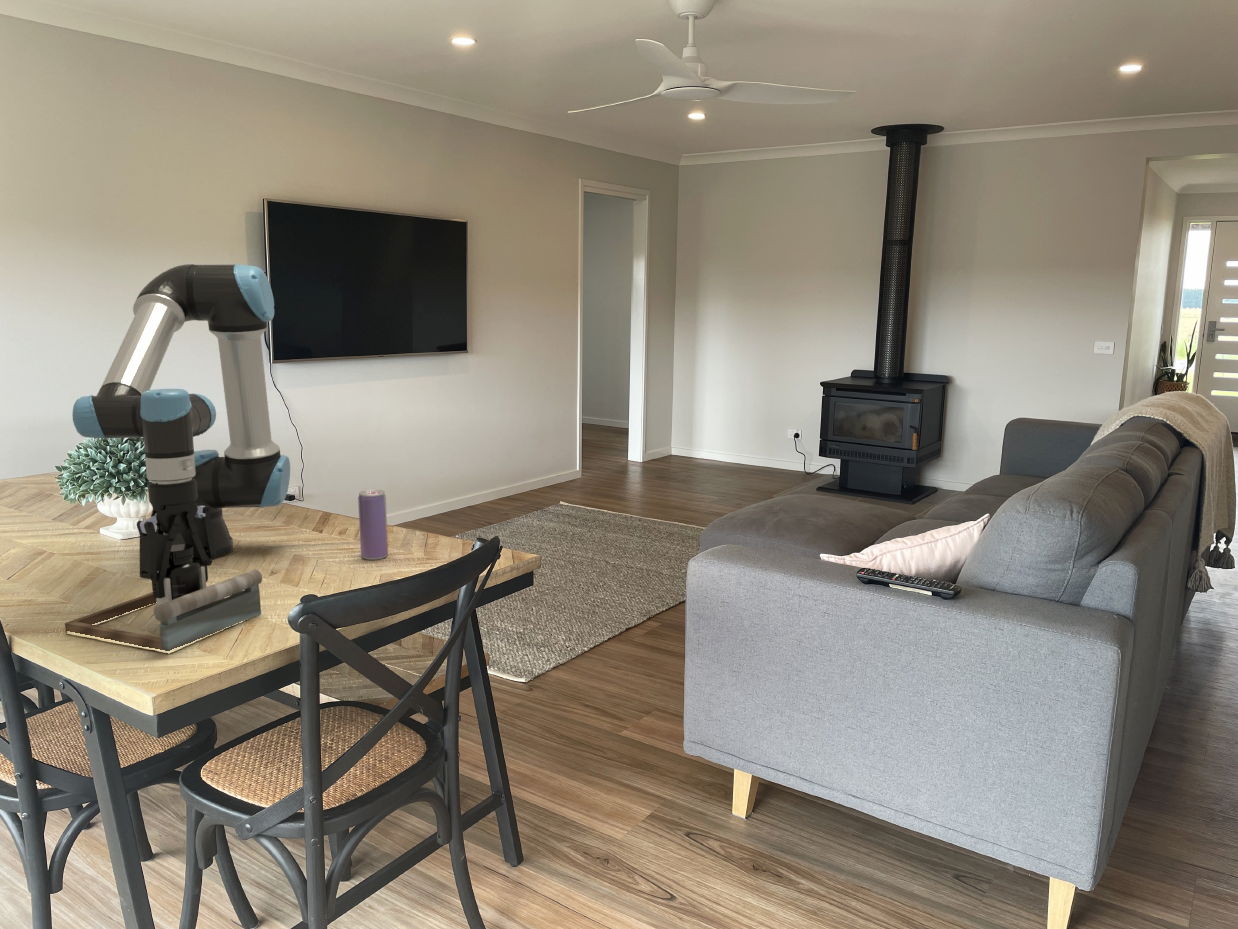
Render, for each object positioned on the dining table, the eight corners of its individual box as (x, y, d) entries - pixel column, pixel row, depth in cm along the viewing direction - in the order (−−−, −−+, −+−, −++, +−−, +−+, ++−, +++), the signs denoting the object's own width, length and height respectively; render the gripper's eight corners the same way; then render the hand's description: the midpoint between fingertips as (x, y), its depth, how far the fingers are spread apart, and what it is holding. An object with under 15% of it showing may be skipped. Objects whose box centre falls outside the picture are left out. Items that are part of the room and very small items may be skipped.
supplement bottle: (171, 607, 158) (166, 542, 156) (211, 606, 159) (206, 541, 157) (155, 620, 151) (149, 553, 149) (196, 619, 152) (190, 552, 150)
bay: (64, 634, 152) (59, 588, 150) (166, 597, 171) (162, 555, 170) (170, 655, 143) (165, 606, 142) (264, 614, 162) (261, 570, 161)
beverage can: (380, 561, 196) (377, 495, 193) (356, 559, 197) (352, 494, 194) (392, 554, 201) (390, 490, 199) (368, 552, 203) (365, 488, 200)
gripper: (138, 492, 140) (151, 629, 145) (233, 471, 159) (242, 593, 163) (104, 488, 143) (118, 623, 147) (201, 468, 161) (210, 588, 165)
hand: (183, 607), depth 155 cm, fingers closed on supplement bottle, 7 cm apart
